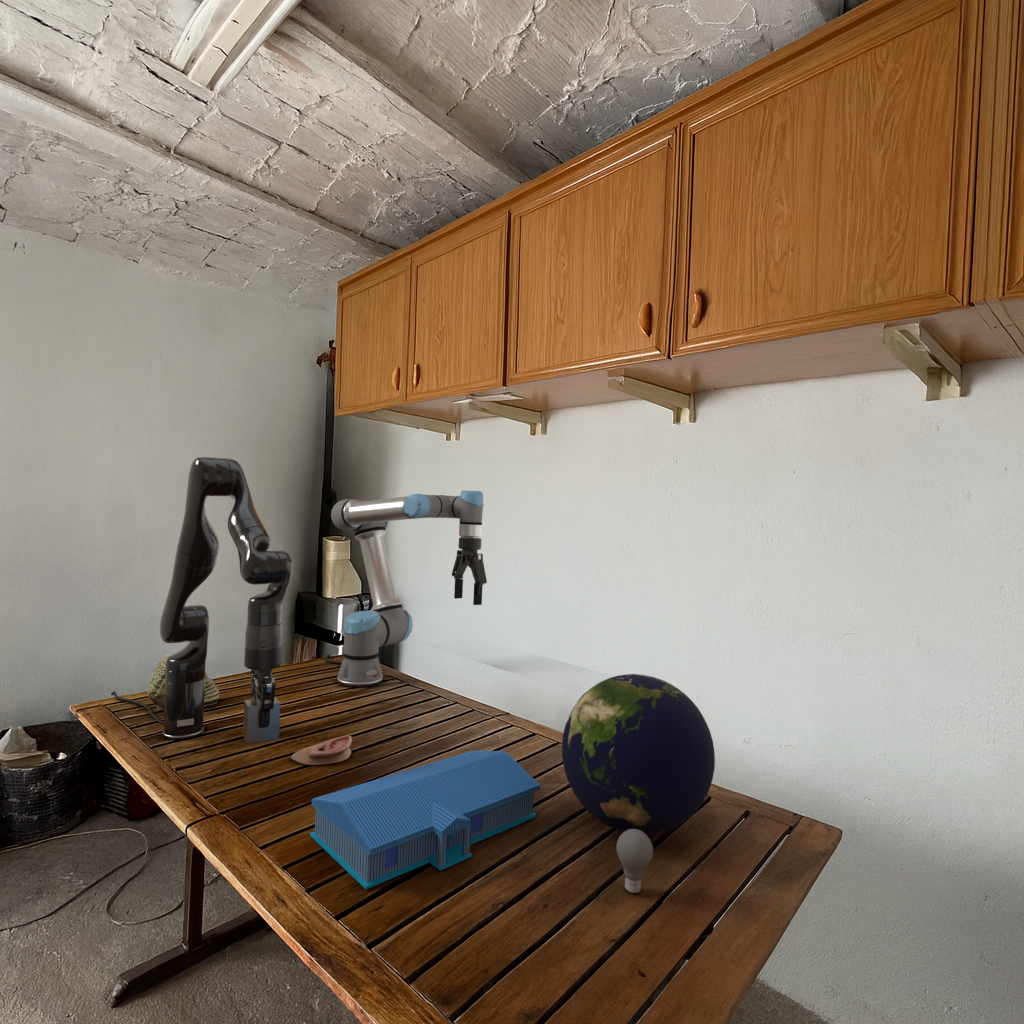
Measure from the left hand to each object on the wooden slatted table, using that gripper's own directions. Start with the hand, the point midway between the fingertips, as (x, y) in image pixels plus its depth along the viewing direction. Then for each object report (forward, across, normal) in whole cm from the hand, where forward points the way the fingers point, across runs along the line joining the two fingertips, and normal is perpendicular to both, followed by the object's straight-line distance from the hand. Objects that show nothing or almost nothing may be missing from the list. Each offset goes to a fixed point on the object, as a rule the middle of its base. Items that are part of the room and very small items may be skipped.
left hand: (261, 722), depth 136 cm
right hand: (-16, +42, -72) cm, 85 cm away
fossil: (+14, +64, +9) cm, 66 cm away
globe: (+14, -50, -62) cm, 81 cm away
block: (+3, 0, 0) cm, 3 cm away
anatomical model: (+14, +11, -16) cm, 24 cm away
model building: (+14, -32, -26) cm, 44 cm away
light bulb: (+14, -66, -47) cm, 82 cm away
